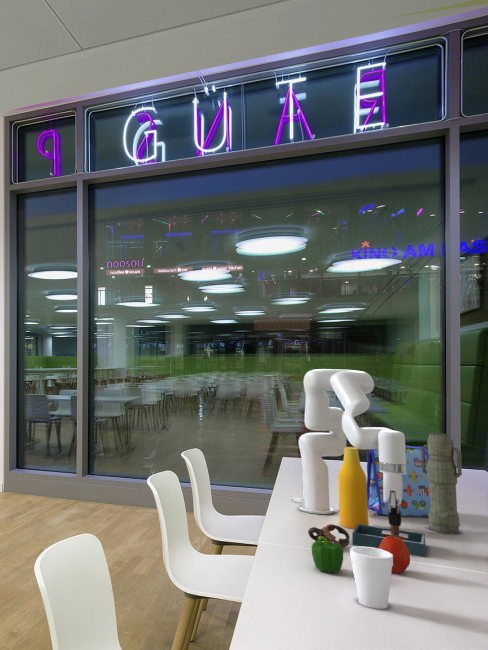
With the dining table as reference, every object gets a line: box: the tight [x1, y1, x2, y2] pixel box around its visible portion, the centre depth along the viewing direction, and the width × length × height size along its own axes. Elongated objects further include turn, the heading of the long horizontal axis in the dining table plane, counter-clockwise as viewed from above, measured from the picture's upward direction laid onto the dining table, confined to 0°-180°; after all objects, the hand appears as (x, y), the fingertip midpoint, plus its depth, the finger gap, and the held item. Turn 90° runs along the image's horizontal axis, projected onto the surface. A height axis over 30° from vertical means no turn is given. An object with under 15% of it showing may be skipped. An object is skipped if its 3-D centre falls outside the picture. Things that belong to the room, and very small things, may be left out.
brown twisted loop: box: [307, 523, 350, 549], centre depth 200 cm, size 12×10×8 cm
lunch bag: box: [366, 445, 430, 518], centre depth 244 cm, size 22×14×29 cm, turn 80°
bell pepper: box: [311, 536, 344, 574], centre depth 179 cm, size 8×8×10 cm
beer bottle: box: [337, 446, 370, 530], centre depth 225 cm, size 9×9×29 cm
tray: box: [352, 524, 427, 558], centre depth 202 cm, size 20×14×4 cm
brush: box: [381, 525, 409, 541], centre depth 199 cm, size 7×5×12 cm
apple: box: [378, 535, 411, 574], centre depth 178 cm, size 8×8×11 cm
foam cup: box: [349, 546, 393, 610], centre depth 155 cm, size 10×9×13 cm
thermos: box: [421, 432, 463, 535], centre depth 220 cm, size 9×12×35 cm
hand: (395, 523), depth 199 cm, fingers closed on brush, 2 cm apart
